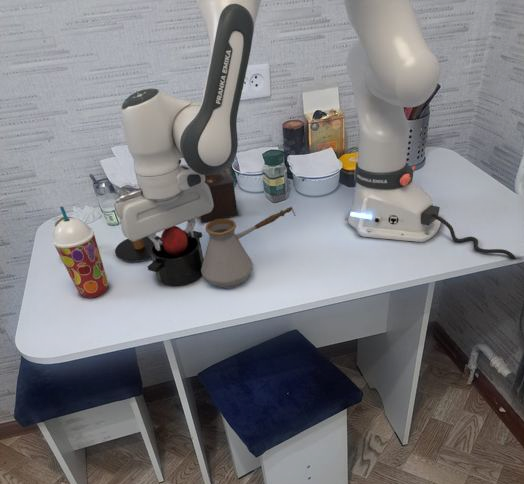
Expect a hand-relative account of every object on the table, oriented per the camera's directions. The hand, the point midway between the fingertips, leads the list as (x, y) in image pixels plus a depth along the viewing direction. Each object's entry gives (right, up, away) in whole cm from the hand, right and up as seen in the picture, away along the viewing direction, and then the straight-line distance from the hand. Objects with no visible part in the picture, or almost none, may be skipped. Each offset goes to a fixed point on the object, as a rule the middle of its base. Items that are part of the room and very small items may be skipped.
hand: (175, 243), depth 103 cm
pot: (+1, -6, +5) cm, 8 cm away
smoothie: (-19, -10, +3) cm, 21 cm away
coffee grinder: (+4, +14, +27) cm, 30 cm away
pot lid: (-11, +2, +14) cm, 18 cm away
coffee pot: (+17, -7, +2) cm, 18 cm away
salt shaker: (-27, 0, +15) cm, 31 cm away
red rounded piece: (0, -2, +2) cm, 3 cm away
